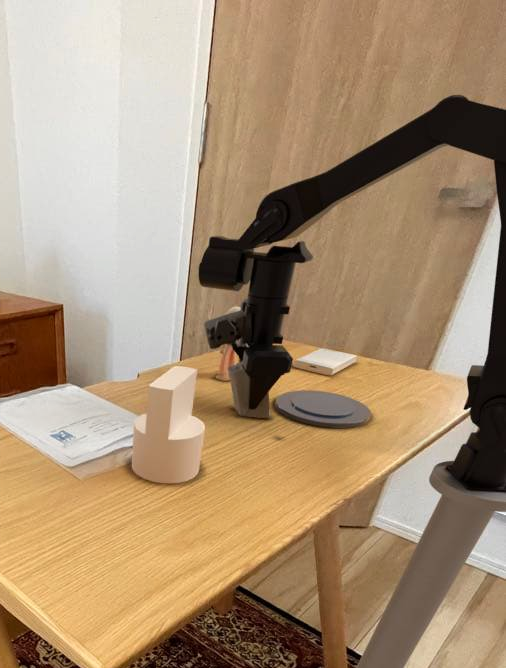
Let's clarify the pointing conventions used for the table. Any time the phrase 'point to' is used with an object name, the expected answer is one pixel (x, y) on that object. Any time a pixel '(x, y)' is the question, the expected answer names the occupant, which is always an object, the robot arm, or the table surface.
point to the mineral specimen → (245, 394)
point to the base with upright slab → (169, 430)
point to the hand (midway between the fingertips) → (247, 399)
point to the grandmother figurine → (227, 355)
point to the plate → (322, 409)
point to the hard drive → (325, 361)
